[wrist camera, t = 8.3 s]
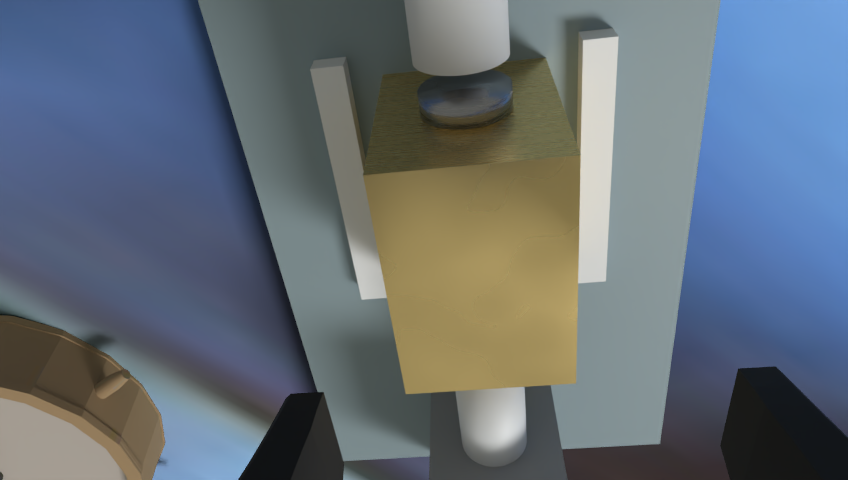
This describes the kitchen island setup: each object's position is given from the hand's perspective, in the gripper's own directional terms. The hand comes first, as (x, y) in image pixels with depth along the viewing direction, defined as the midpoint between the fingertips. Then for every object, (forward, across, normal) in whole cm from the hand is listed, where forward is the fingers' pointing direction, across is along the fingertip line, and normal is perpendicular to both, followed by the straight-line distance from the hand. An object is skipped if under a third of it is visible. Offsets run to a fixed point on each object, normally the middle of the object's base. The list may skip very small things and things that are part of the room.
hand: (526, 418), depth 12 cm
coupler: (+8, +1, -1) cm, 8 cm away
